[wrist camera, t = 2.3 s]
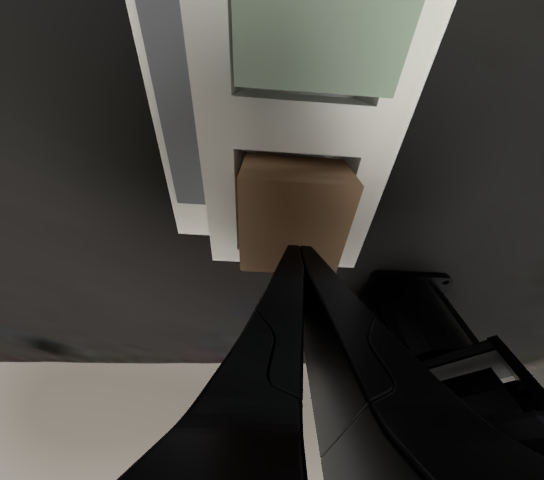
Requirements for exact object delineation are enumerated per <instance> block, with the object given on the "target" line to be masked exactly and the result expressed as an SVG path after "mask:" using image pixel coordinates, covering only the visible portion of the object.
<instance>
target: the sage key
mask: <svg viewBox="0 0 544 480" xmlns="http://www.w3.org/2000/svg"><path fill="white" fill-rule="evenodd" d="M424 2H425V0H231V11H232V42H233V72H234V87H246V88H259V89H273V90H286V91H299V92H313V93H326V94H340V95H353V96H366V97H380V98H393V97H394V94H395V91H396V88H397V85H398V82H399V79H400V76H401V72H402V69H403V66H404V63H405V60H406V57H407V54H408V51H409V48H410V45H411V42H412V39H413V36H414V33H415V30H416V27H417V23H418V20H419V17H420V14H421V11H422V8H423V5H424Z"/></svg>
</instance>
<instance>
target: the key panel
mask: <svg viewBox="0 0 544 480" xmlns="http://www.w3.org/2000/svg"><path fill="white" fill-rule="evenodd" d="M456 1H457V0H425V2H424V5H423V8H422V11H421V14H420V17H419V20H418V23H417V27H416V30H415V33H414V36H413V39H412V42H411V45H410V48H409V51H408V54H407V57H406V60H405V63H404V66H403V69H402V72H401V76H400V79H399V82H398V85H397V88H396V91H395V94H394V97H393V98H380V97H366V96H353V95H340V94H326V93H313V92H299V91H286V90H273V89H259V88H246V87H234V72H233V42H232V11H231V0H125V2H126V6H127V10H128V15H129V19H130V24H131V28H132V32H133V37H134V41H135V45H136V50H137V54H138V59H139V63H140V67H141V72H142V76H143V80H144V85H145V89H146V94H147V98H148V102H149V107H150V111H151V115H152V120H153V124H154V128H155V133H156V137H157V142H158V146H159V150H160V155H161V159H162V163H163V168H164V172H165V177H166V181H167V185H168V190H169V194H170V198H171V203H172V207H173V212H174V216H175V220H176V225H177V229H178V233H179V234H195V235H210V243H211V251H212V259H213V260H216V261H234V262H240V256H239V226H238V195H237V177H238V174H239V171H240V168H241V165H242V163H243V160H244V157H245V154H246V153H260V154H275V155H290V156H305V157H320V158H335V159H344V160H345V162H346V163H347V164H348V166H349V167H350V168H351V170H352V171H353V172H354V174H355V175H356V176H357V178H358V179H359V180H360V181H361V183H362V184H363V185H364V189H363V192H362V195H361V198H360V201H359V204H358V207H357V210H356V213H355V217H354V220H353V223H352V226H351V229H350V232H349V235H348V238H347V241H346V244H345V247H344V250H343V253H342V256H341V259H340V263H339V266H338V267H348V268H354V266H355V263H356V261H357V258H358V256H359V253H360V250H361V248H362V245H363V243H364V240H365V237H366V235H367V232H368V230H369V227H370V224H371V222H372V219H373V217H374V214H375V211H376V209H377V206H378V204H379V201H380V198H381V196H382V193H383V191H384V188H385V186H386V183H387V180H388V178H389V175H390V173H391V170H392V167H393V165H394V162H395V160H396V157H397V154H398V152H399V149H400V147H401V144H402V141H403V139H404V136H405V134H406V131H407V128H408V126H409V123H410V121H411V118H412V115H413V113H414V110H415V108H416V105H417V102H418V100H419V97H420V95H421V92H422V89H423V87H424V84H425V82H426V79H427V76H428V74H429V71H430V69H431V66H432V63H433V61H434V58H435V56H436V53H437V50H438V48H439V45H440V43H441V40H442V37H443V35H444V32H445V30H446V27H447V24H448V22H449V19H450V17H451V14H452V11H453V9H454V6H455V4H456Z"/></svg>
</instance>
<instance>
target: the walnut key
mask: <svg viewBox="0 0 544 480" xmlns="http://www.w3.org/2000/svg"><path fill="white" fill-rule="evenodd" d="M363 189H364V185H363V184H362V183H361V181H360V180H359V179H358V178H357V176H356V175H355V174H354V172H353V171H352V170H351V168H350V167H349V166H348V164H347V163H346V162H345V160H344V159H335V158H320V157H305V156H290V155H275V154H260V153H246V154H245V157H244V160H243V163H242V165H241V168H240V171H239V174H238V177H237V195H238V226H239V256H240V271H254V272H273V273H274V271H275V269H276V267H277V265H278V263H279V261H280V259H281V257H282V255H283V253H284V251H285V250H286V248H287V246H288V245H298V246H299V247H300V246H301V245H304V246H311V247H313V248H314V250H315V251H316V252H317V253H318V254H319V255H320V256H321V257H322V258H323V259H324V260H325V262H326V263H327V264H328V265H329V266H330V267H331V268H332V269H333V270H334V271H335V273H336V272H337V269H338V266H339V263H340V259H341V256H342V253H343V250H344V247H345V244H346V241H347V238H348V235H349V232H350V229H351V226H352V223H353V220H354V217H355V213H356V210H357V207H358V204H359V201H360V198H361V195H362V192H363Z"/></svg>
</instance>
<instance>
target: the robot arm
mask: <svg viewBox="0 0 544 480" xmlns="http://www.w3.org/2000/svg"><path fill="white" fill-rule="evenodd" d="M452 282H453V280H452V279H451V277H450V276H449V275H442V274H423V273H404V272H385V271H377V272H375V273H373V274H372V276H371V278H370V280H369V282H368V284H367V286H366V289H365V291H364V292H363V294H362V295H361V298H360V299H359V298H358V297H357V296H356V294H355V293H354V292H353V291H352V290H351V289H350V288H349V287H348V286H347V285H346V283H345V282H344V281H343V280H342V279H341V278H340V277H339V276H338V275H337V274H336V273H335V271H334V270H333V269H332V268H331V267H330V266H329V265H328V264H327V263H326V262H325V260H324V259H323V258H322V257H321V256H320V255H319V254H318V253H317V252H316V251H315V250H314V248H313V247H311V246H304V245H301V246H300V247H299V246H298V245H288V246H287V248H286V250H285V251H284V253H283V255H282V257H281V259H280V261H279V263H278V265H277V267H276V269H275V271H274V273H273V275H272V277H271V279H270V281H269V282H268V284H267V286H266V288H265V290H264V292H263V294H262V296H261V298H260V300H259V302H258V304H257V306H256V308H255V311H253V313H252V315H251V317H250V319H249V321H248V323H247V324H246V326H245V328H244V330H243V332H242V333H241V335H240V337H239V338H238V340H237V341H236V343H235V344H234V346H233V347H232V349H231V350H230V352H229V353H228V355H227V356H226V358H225V359H224V360H223V362H222V363H221V365H220V366H219V368H218V369H217V370H216V372H215V373H214V375H213V376H212V378H211V379H210V380H209V382H208V383H207V385H206V386H205V388H204V389H203V391H202V392H201V393H200V395H199V396H198V397H197V399H196V400H195V401H194V403H193V404H192V405H191V407H190V408H189V409H188V411H187V412H186V413H185V414H184V415H183V417H182V418H181V419H180V420H179V421H178V422H177V423H176V425H174V427H173V428H172V429H171V430H170V431H169V432H168V433H166V434H165V435H164V436H163V437H162V438H161V439H160V440H159V441H158V442H157V443H156V444H155V445H153V446H152V447H151V449H149V450H148V451H147V452H146V453H145V454H144V455H143V456H142V457H141V458H140V459H138V460H137V461H136V462H135V463H134V464H133V465H132V466H131V467H130V468H129V469H128V470H127V471H126V472H125V473H123V474H122V475H121V476H120V477H119V478H118V479H117V480H308V479H307V469H306V459H305V450H304V440H303V419H302V418H303V417H302V408H303V405H302V400H303V347H304V354H305V360H306V366H307V373H308V379H309V386H310V393H311V399H312V405H313V412H314V418H315V425H316V431H317V438H318V444H319V451H320V457H321V464H322V471H323V477H324V480H544V388H543V387H542V386H541V385H540V384H539V383H538V382H537V380H536V379H535V378H534V377H533V376H532V375H531V374H530V372H529V371H528V370H527V369H526V368H525V367H524V366H523V364H522V363H521V362H520V361H519V360H518V359H517V358H516V356H515V355H514V354H513V353H512V352H511V351H510V350H509V349H508V347H507V346H506V345H505V344H504V343H503V342H502V341H501V339H500V338H499V337H498V336H497V335H495V336H492V337H489V338H487V340H485V341H482V342H479V341H478V339H477V338H476V337H475V335H474V334H473V333H472V331H471V330H470V329H469V327H468V326H467V325H466V323H465V322H464V321H463V319H462V318H461V317H460V315H459V314H458V313H457V311H456V310H455V309H454V307H453V306H452V305H451V303H450V302H449V301H448V299H447V298H446V297H445V295H444V292H445V291H446V290H447V288H448V287H449V286H450V285H451V283H452ZM509 376H513V377H514V378H515V381H511V382H507V383H502V381H501V380H500V379H501V378H505V377H509Z"/></svg>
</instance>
